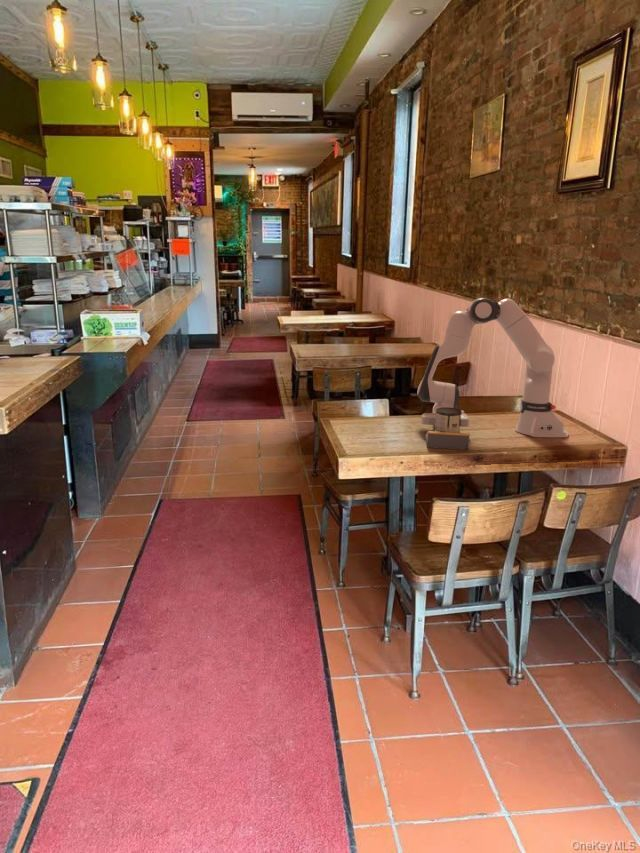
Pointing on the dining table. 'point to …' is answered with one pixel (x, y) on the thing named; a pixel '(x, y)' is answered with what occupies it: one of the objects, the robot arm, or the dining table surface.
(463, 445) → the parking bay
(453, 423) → the coffee can
